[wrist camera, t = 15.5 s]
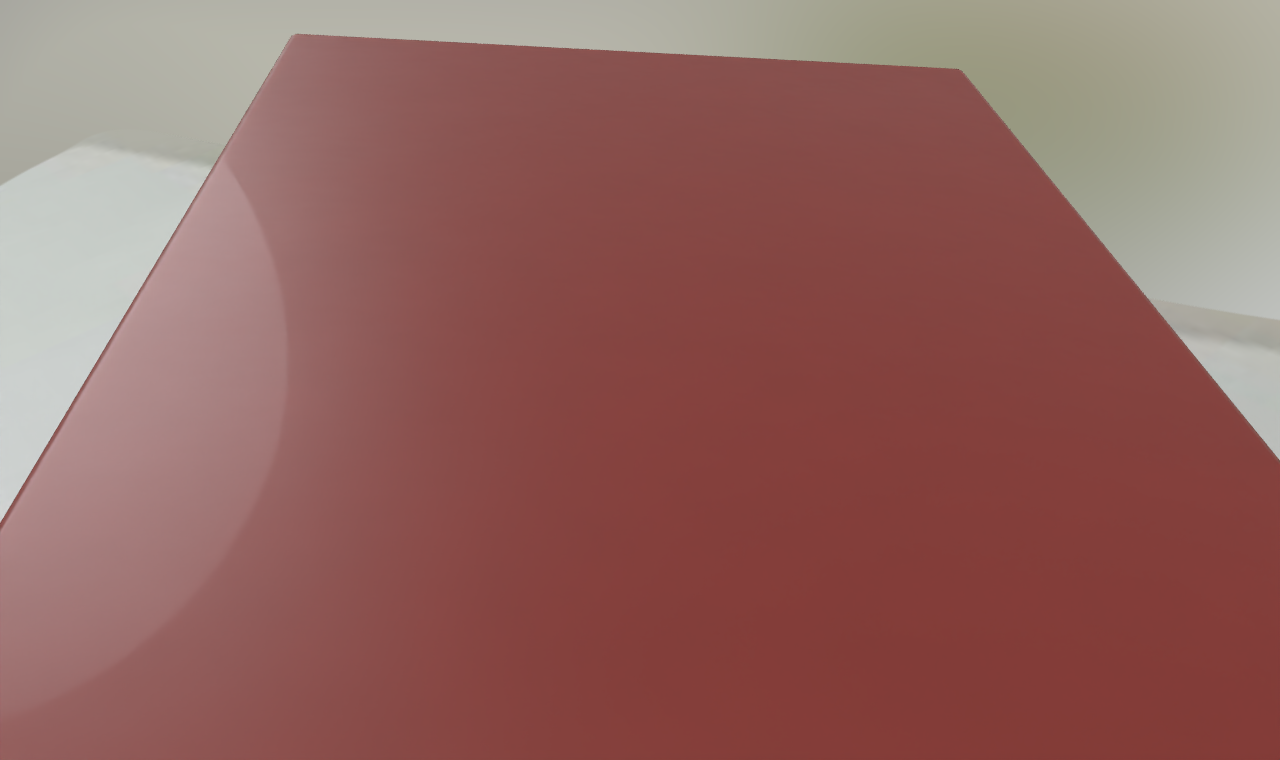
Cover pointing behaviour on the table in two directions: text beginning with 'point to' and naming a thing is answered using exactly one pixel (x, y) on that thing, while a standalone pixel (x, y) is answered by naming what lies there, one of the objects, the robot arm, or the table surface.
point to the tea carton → (638, 441)
